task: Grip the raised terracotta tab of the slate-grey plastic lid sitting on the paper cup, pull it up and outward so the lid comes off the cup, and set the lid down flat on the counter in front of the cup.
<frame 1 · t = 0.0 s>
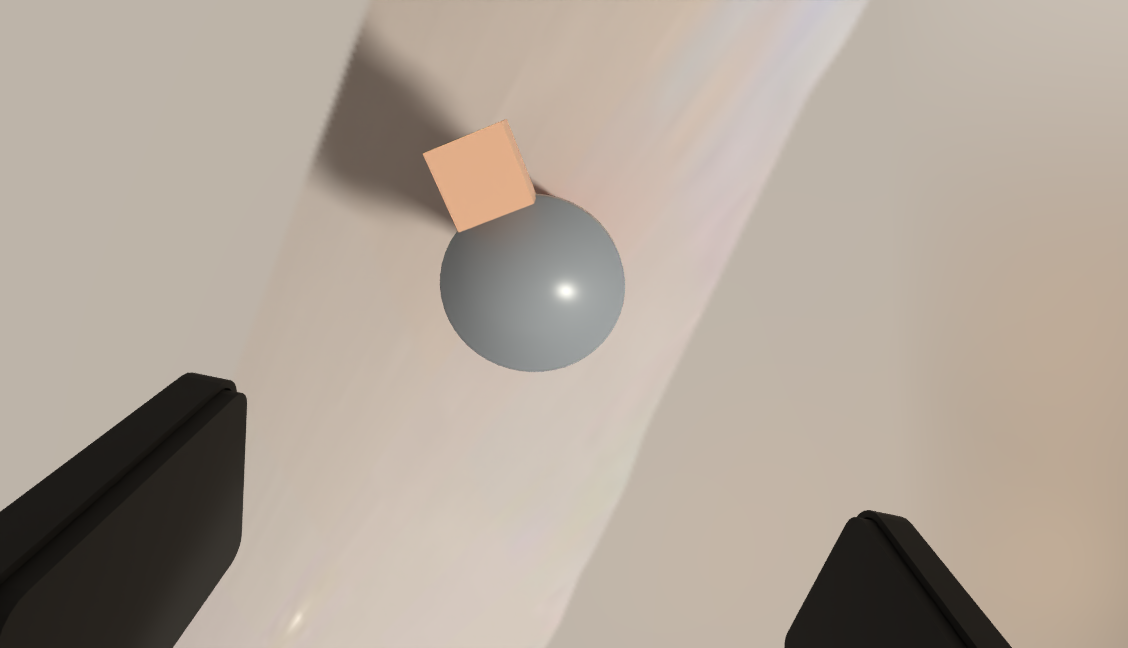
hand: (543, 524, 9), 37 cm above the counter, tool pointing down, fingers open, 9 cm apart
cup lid: (533, 284, 32), point 14 cm above the counter, touching paper cup
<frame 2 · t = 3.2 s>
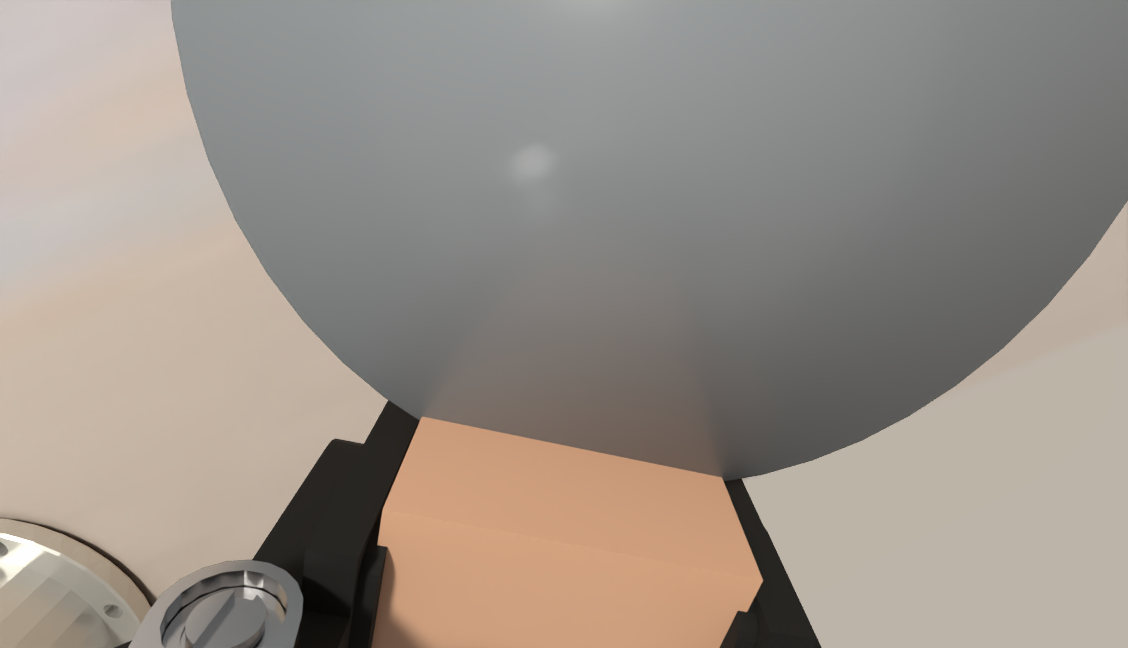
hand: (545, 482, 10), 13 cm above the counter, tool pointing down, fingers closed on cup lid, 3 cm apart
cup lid: (672, 80, 6), point 14 cm above the counter, touching gripper, paper cup
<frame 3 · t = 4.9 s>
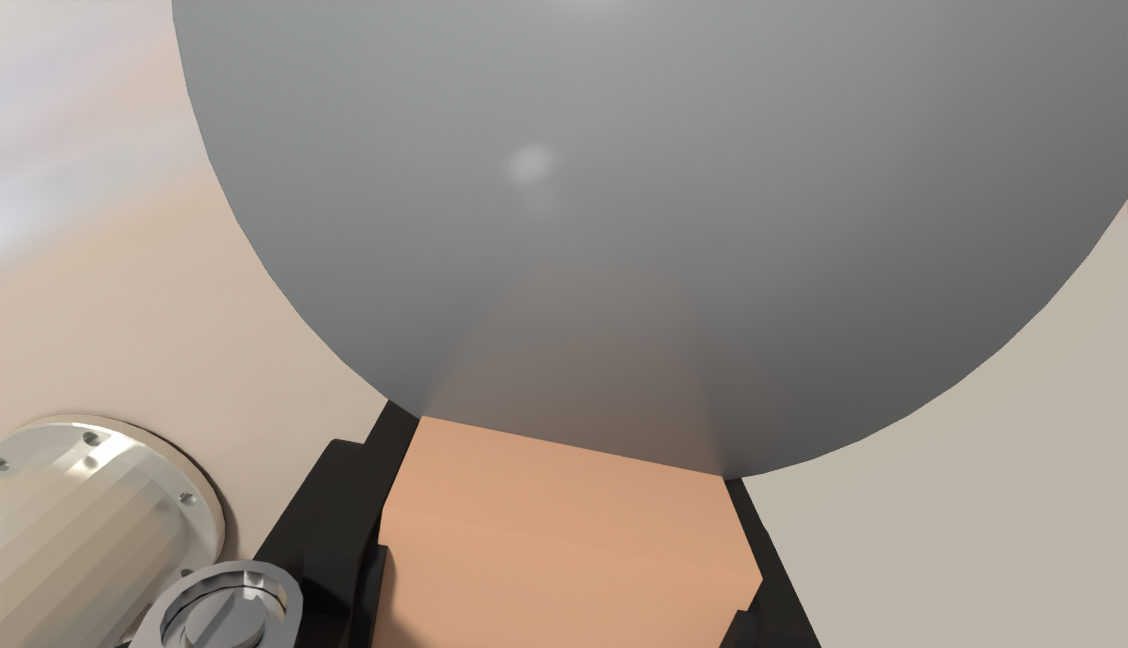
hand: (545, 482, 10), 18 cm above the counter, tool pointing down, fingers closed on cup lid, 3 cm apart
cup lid: (672, 80, 6), point 19 cm above the counter, touching gripper
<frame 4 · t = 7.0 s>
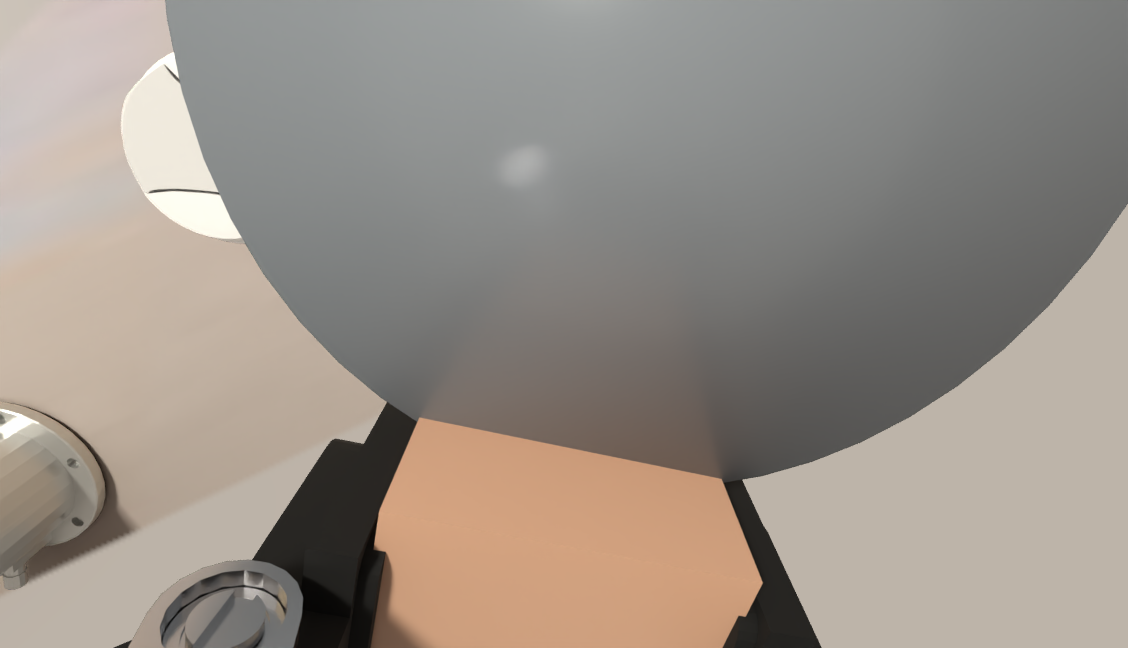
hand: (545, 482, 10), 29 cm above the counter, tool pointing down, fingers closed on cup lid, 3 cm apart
paper cup: (338, 131, 35), on the counter
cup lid: (671, 79, 6), point 30 cm above the counter, touching gripper
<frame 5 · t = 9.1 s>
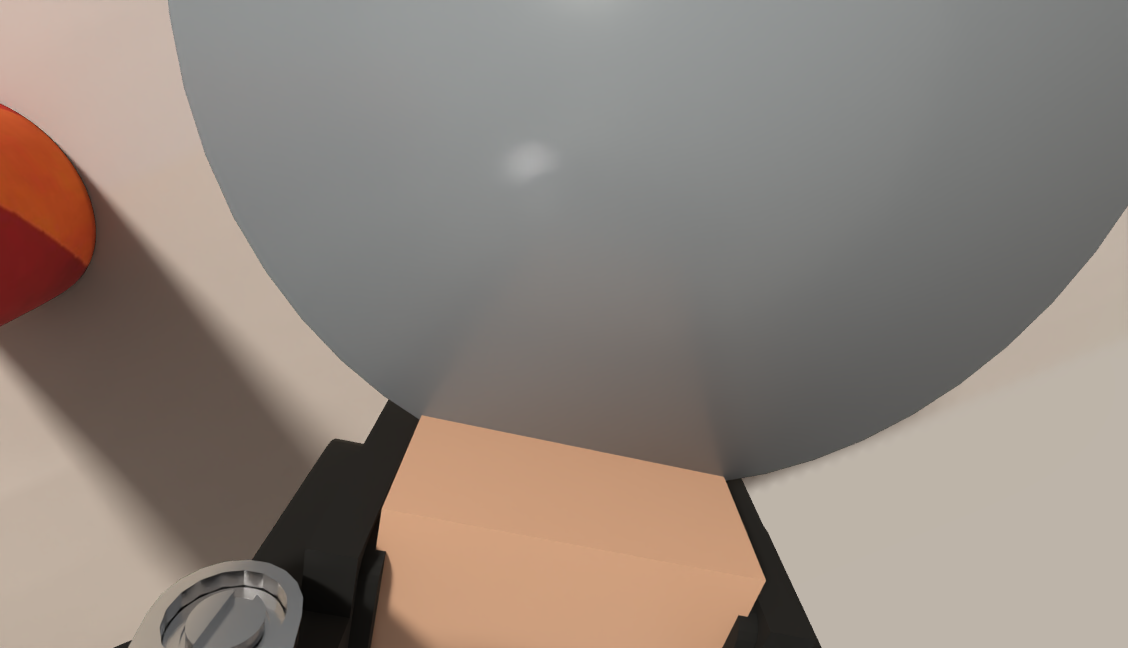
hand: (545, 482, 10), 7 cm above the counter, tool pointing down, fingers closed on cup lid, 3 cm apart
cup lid: (673, 76, 6), point 8 cm above the counter, touching gripper
when the fingers open (1 cm above the counter, at t = 10.9 s): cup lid drops 2 cm, on the counter.
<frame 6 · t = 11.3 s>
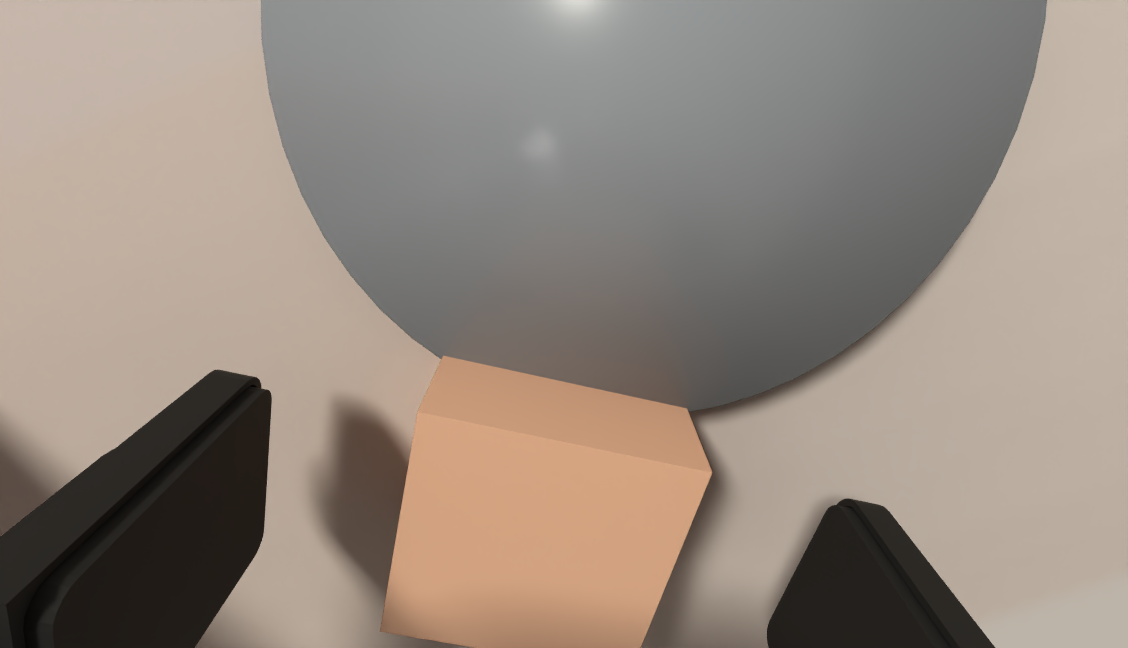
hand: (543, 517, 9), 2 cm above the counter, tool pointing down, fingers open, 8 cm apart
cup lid: (642, 86, 8), on the counter
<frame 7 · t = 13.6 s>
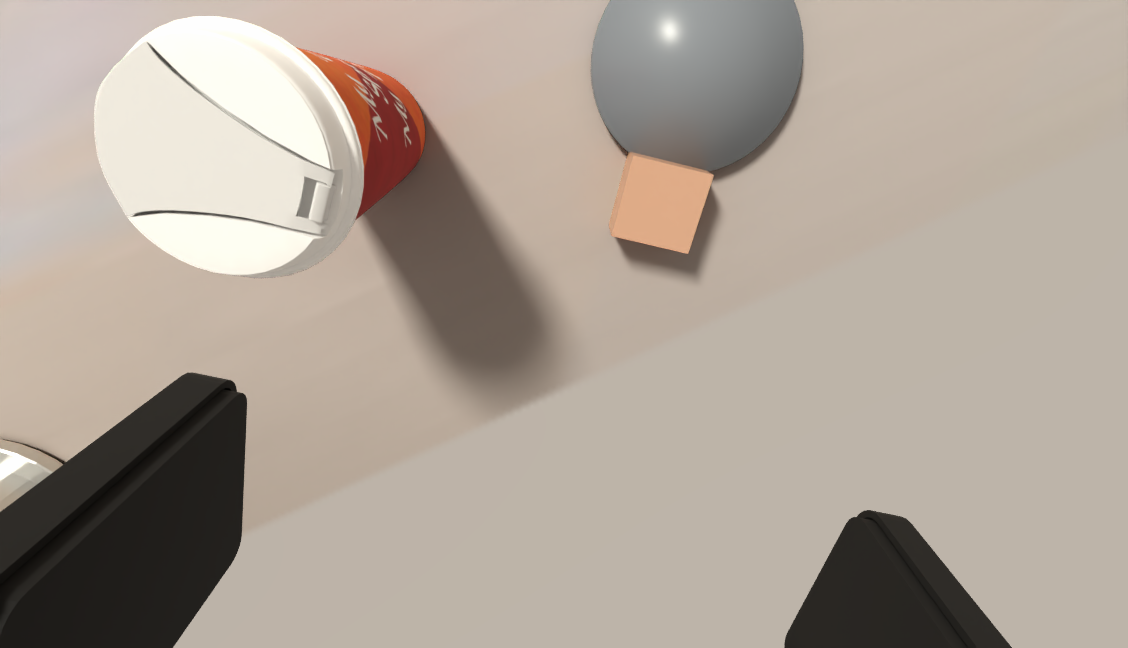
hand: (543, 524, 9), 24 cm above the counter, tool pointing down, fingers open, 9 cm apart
paper cup: (371, 127, 29), on the counter
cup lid: (693, 66, 28), on the counter
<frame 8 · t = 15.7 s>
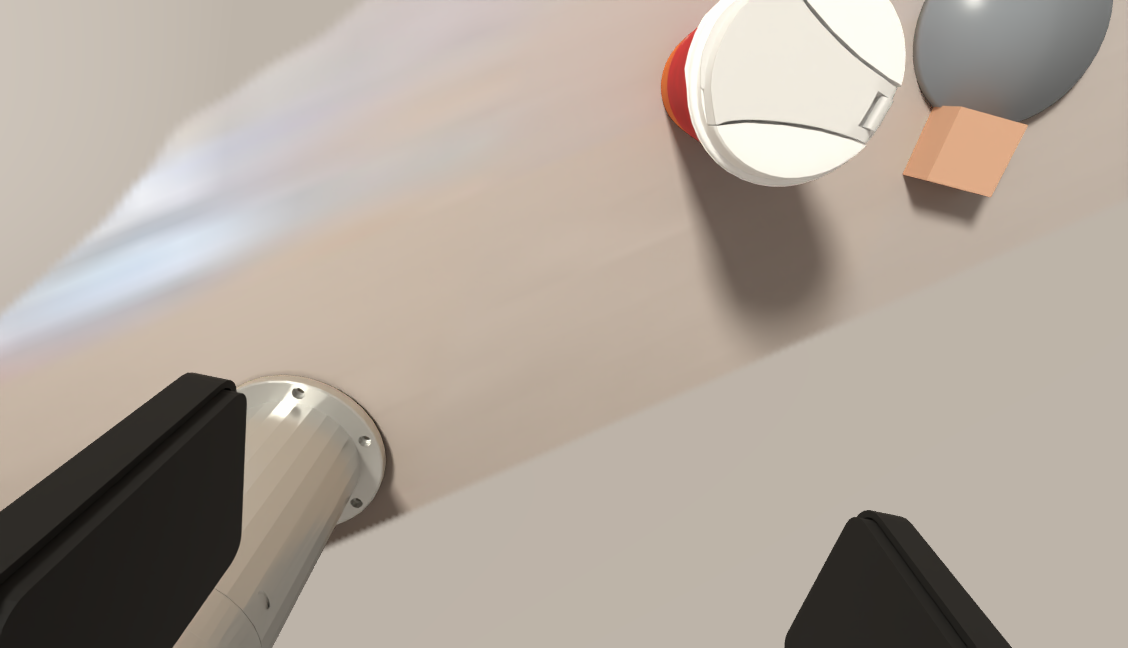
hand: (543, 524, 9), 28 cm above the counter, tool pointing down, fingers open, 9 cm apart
paper cup: (707, 83, 33), on the counter
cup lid: (1004, 30, 32), on the counter
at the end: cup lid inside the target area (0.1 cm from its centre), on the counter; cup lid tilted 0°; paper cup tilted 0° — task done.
